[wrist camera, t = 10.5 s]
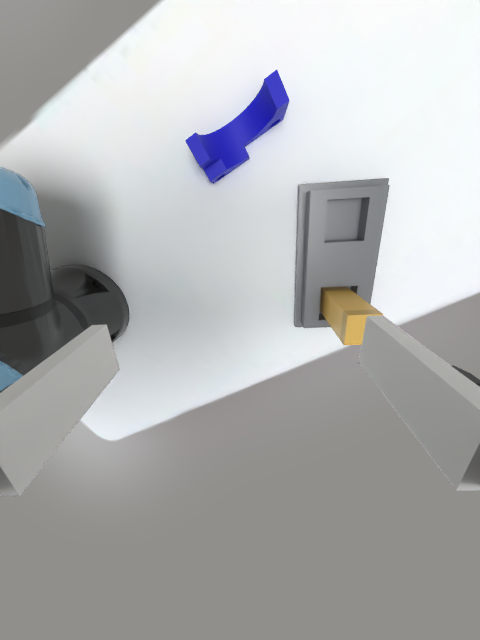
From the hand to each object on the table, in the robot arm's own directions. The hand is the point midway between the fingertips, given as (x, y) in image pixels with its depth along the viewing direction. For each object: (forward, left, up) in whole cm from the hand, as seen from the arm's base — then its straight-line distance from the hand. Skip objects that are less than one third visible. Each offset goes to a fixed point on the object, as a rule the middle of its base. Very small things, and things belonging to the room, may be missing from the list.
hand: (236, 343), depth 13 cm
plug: (+14, -8, -28) cm, 32 cm away
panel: (+14, -2, -29) cm, 32 cm away
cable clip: (0, +15, -30) cm, 33 cm away
